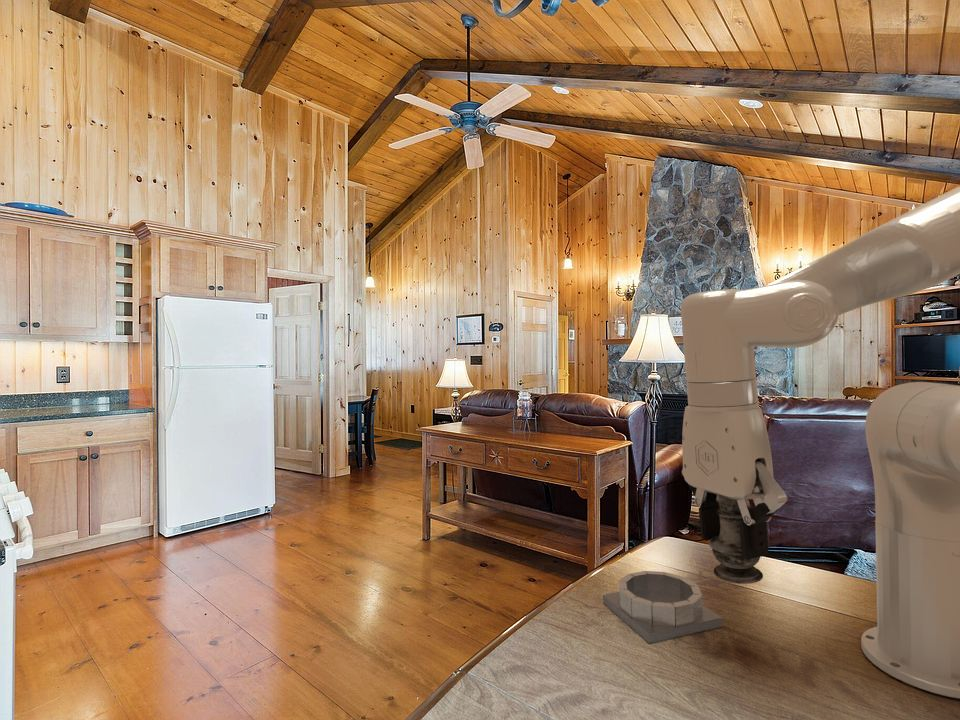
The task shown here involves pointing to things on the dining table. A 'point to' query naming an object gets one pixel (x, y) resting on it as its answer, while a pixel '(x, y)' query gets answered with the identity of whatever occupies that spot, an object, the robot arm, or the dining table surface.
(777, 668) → the dining table surface
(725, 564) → the salt shaker
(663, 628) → the hub plate
